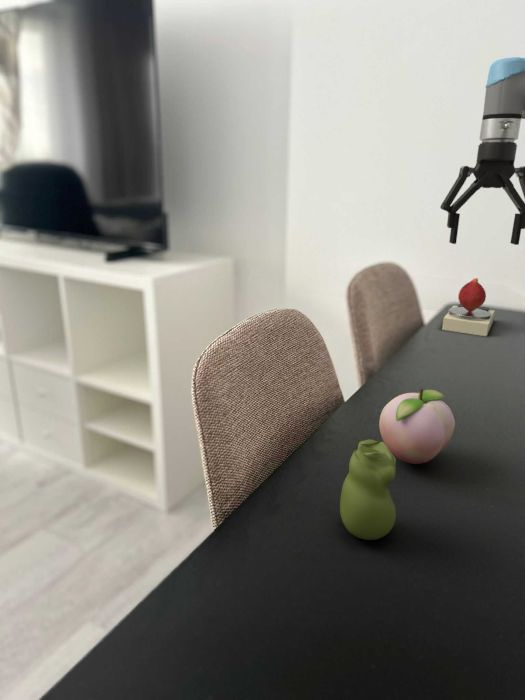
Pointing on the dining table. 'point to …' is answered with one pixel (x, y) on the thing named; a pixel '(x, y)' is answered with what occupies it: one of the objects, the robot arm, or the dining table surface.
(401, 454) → the decorative fruit
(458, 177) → the robot arm
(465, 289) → the onion
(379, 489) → the pear
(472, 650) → the dining table surface
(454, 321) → the scale
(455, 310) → the scale platform
